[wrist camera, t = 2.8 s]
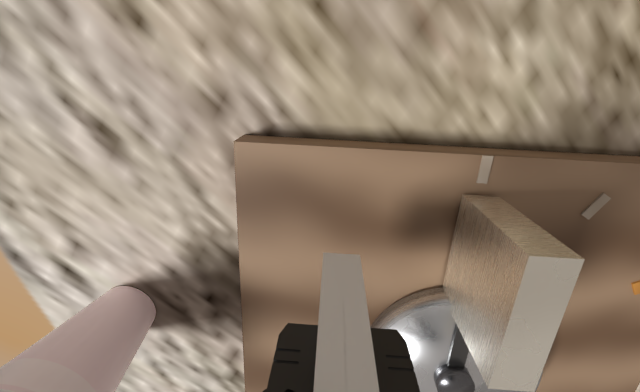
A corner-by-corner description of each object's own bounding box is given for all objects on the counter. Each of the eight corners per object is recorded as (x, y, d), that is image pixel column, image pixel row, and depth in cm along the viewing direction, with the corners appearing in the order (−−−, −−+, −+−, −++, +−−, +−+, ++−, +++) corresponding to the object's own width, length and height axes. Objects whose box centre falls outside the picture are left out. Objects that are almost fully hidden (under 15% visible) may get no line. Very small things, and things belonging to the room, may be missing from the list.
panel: (244, 134, 18) (232, 141, 16) (706, 160, 17) (754, 170, 15) (253, 404, 25) (246, 432, 23) (579, 429, 25) (600, 459, 23)
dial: (380, 189, 16) (404, 248, 11) (581, 201, 16) (712, 267, 11) (355, 406, 22) (362, 521, 16) (505, 418, 22) (565, 538, 16)
